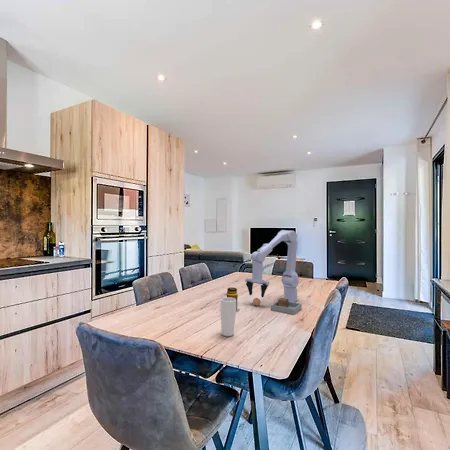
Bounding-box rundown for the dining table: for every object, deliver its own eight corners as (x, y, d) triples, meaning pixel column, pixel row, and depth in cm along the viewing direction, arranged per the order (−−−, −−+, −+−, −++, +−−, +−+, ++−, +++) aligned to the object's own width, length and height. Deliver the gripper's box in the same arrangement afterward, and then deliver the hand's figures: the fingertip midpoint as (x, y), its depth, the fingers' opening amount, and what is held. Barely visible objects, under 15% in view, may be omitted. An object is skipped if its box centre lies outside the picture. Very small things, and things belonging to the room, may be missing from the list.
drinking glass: (235, 331, 125) (235, 297, 124) (236, 337, 118) (237, 301, 118) (219, 331, 124) (220, 297, 124) (219, 337, 118) (220, 301, 117)
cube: (280, 305, 165) (281, 297, 165) (288, 306, 162) (288, 298, 162) (277, 307, 161) (278, 299, 161) (285, 308, 158) (285, 300, 158)
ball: (254, 304, 168) (254, 296, 168) (261, 305, 165) (261, 297, 165) (251, 305, 164) (251, 298, 164) (258, 307, 162) (258, 299, 162)
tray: (279, 305, 167) (279, 299, 167) (301, 309, 160) (301, 303, 160) (270, 310, 156) (271, 305, 156) (293, 315, 149) (293, 309, 149)
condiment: (234, 313, 150) (234, 290, 150) (220, 310, 154) (220, 288, 154) (240, 309, 157) (240, 287, 156) (226, 306, 161) (227, 285, 161)
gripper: (243, 271, 165) (242, 295, 165) (265, 274, 157) (265, 299, 157) (248, 270, 171) (248, 292, 171) (271, 273, 163) (270, 296, 163)
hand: (256, 295), depth 165 cm, fingers open, 7 cm apart
